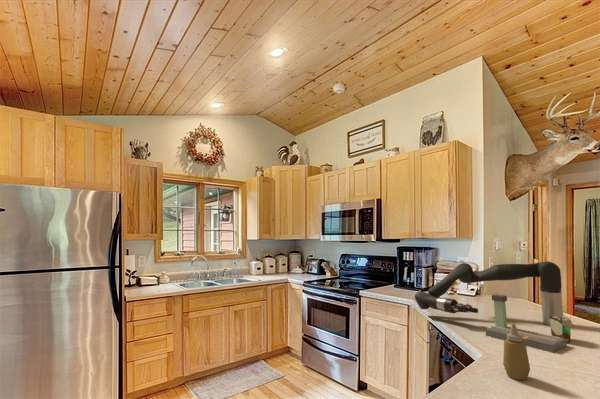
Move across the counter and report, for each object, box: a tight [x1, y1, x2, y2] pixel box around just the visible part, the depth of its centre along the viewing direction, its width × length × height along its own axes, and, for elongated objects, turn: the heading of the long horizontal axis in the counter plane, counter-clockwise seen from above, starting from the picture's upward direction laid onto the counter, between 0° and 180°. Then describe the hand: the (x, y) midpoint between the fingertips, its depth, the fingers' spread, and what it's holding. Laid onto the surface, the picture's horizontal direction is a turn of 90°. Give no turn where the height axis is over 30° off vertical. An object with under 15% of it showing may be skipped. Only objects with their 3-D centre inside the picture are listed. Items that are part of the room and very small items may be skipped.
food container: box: [549, 315, 573, 344], centre depth 156 cm, size 12×6×10 cm, turn 168°
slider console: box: [485, 324, 568, 354], centre depth 156 cm, size 14×28×4 cm, turn 33°
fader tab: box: [491, 293, 508, 329], centre depth 165 cm, size 4×5×16 cm
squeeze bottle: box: [502, 323, 531, 381], centre depth 119 cm, size 8×8×18 cm
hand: (477, 310), depth 175 cm, fingers closed
